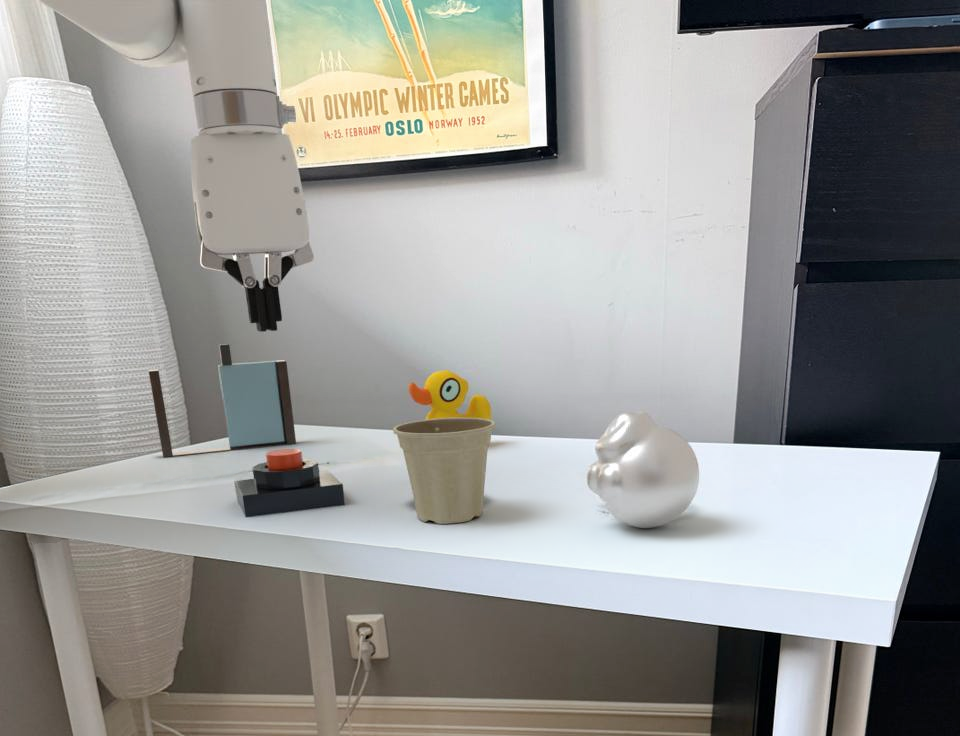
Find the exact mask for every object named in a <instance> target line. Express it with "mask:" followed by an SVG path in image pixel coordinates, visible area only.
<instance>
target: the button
mask: <svg viewBox="0 0 960 736" xmlns="http://www.w3.org/2000/svg"><path fill="white" fill-rule="evenodd" d="M302 452H303V451H302V450H301V449H297V448H283V449H275V450H270V451H268V452H265V459H266V462H267V467H268V469H290V468H296V467H300V466H303V460H302V459H303V453H302Z"/></svg>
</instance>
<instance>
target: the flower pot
mask: <svg viewBox="0 0 960 736" xmlns="http://www.w3.org/2000/svg"><path fill="white" fill-rule="evenodd" d="M495 427H496V421H494V420H493V419H491V420H489V419H482V418H438V419H429V420H425V419H421V420H414V421H409V422H404V423H401V424H398V425H395V426H394V427H393V428H392V431H393V434H395V435H397V439H398V440H397V441H398V443H399V447H400V449H401V450H402V451H403V455H404V456H403V457H404V460H405V461H404V462H405V465H406V469H407V474H408V478H409V483H410V487H411V492H412V496H413V502H414V506H415V510H416V516H417V519H419V520H420V521H421V522H424V523H426V522H430V521H432V522H434V523H436V524H439V525H450V524H455V523H456V524H459V523H460V524H461V523H466V522H470V521H472V520H473V518H480V517H481V516H482V515H483V512H484V496H485V486H486V485H485V484H486V471H487V461H488V460H487V459H488V449H489V444H490V443H491V440H492V432H493V431H492V430H493V429H494V428H495Z"/></svg>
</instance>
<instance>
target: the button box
mask: <svg viewBox="0 0 960 736" xmlns="http://www.w3.org/2000/svg"><path fill="white" fill-rule="evenodd" d="M302 460H303V466H300V467H296V468H290V469H268V467H267V461H266V462H261V463H258V464H256V465H254V466H252V467H251V468H252V475H253V478H248V479H240V480H234V481H233V483H234V488H235V489H234V490H235V495H236V501H237V504H238V506H239V507H240V509H241V511H242V513H243V515H244V517H245V518H252V517H260V516H268V515H276V514H284V513H291V512H293V513H294V512H300V511H307V510H316V509H317V510H318V509H324V508H332V507H340V506H345V504H346V502H345V493H344V485H343V483H342V482H341V481H340V480H339V479H338V478H337V477H336V476H335V475H333V474H332V473H331V472H330V471H329V470H320V468H319V463H318V462H317V461H316V460H314V459H309V458H308V459H307V458H302Z"/></svg>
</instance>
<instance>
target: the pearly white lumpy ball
mask: <svg viewBox="0 0 960 736" xmlns="http://www.w3.org/2000/svg"><path fill="white" fill-rule="evenodd" d="M594 452H595V454H596V456H597V461H595V462H593V463H592V464H591V465H590V466H589V467H588V469H587V472H586V483H587V486H588V488H589V490H590V491H591V492H593V493H594V494H596V495H597V496H598V497H599V498H600V500H601V501H603V502H604V503H605V508H606V510H607V512H608V513H609V514H610V516H612V517H614V518H615V519H616V520H618V521H619V522H621V523H623V524H625V525H628V526H629V527H634V528H640V529H651V528H658V527H661V526H664V525H667V524H669V523H671V522H673V521H674V520H676V519H678V518H679V517H680V516H681V515H683V513H685V511H686V510H687V509H688V508H689V506H690V505H691V504H692V502H693V501H694V498H695V497H696V495H697V492H698V487H699V484H700V483H699V482H700V467H699V462H698V458H697V456H696V455H697V454H696V453H695V451H694V450H693V447H692V446H691V445H690V443H689V442H688V441H687V440H686V439H685V438H684V437H683V436H682V435H681V434H679V433H678V432H677V431H675V430H673V429H671V428H669V427H667V426H664V425H659V424H657V423H656V422H654V420H653V419H652V418H651V416H650V414H649V413H648V412H645V411H639V412H633V411H624V412H621V413H620V414H618V415H617V416H616V417H615V418H614V419H612V421H611V422H610V423H609V425H608V426H607V428H606V429H605V432H604V433H602V435H600V437H599V439H598V440H597V442H596V444H595V446H594Z"/></svg>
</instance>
